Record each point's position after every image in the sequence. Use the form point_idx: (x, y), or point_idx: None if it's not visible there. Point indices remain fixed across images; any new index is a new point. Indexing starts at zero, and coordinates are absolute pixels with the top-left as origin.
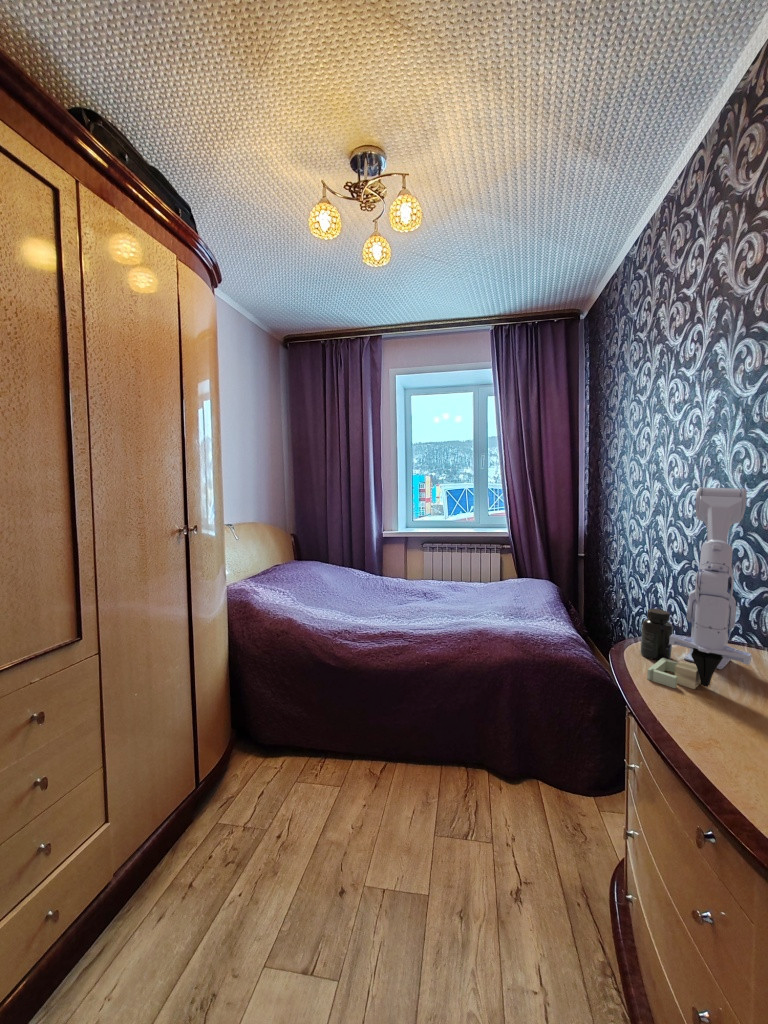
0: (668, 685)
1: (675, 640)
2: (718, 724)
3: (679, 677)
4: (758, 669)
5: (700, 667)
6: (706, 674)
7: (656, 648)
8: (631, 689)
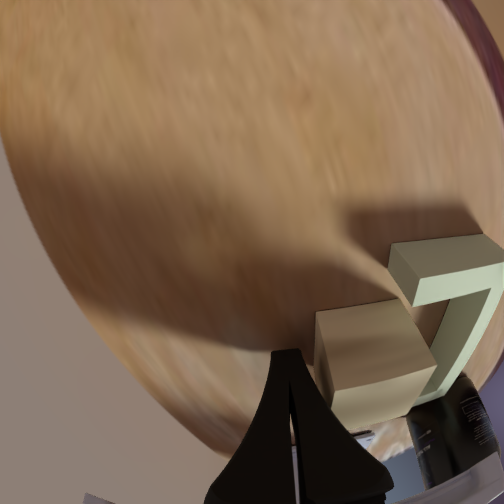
0: (419, 242)
1: (483, 490)
2: (87, 28)
3: (394, 327)
4: None
5: (318, 428)
6: (280, 403)
7: (456, 413)
8: (498, 69)
